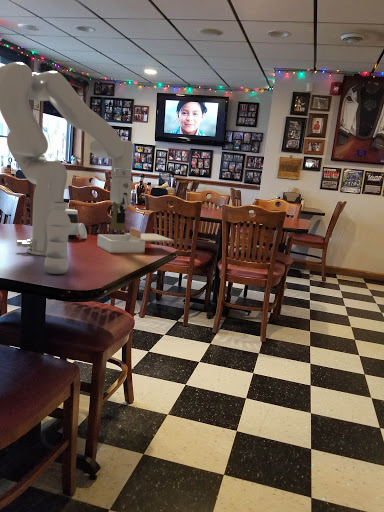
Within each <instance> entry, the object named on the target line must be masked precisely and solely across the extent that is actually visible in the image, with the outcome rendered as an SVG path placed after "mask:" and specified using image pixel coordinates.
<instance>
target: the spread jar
mask: <svg viewBox="0 0 384 512" xmlns="http://www.w3.org/2000/svg"><path fill="white" fill-rule="evenodd" d="M65 212H66V213H67V215H68V216H69V218H70V222H71V223H70V229H69V234H68V239H76V238H78V235H79V238H80V239H82V240H84V239H87V236H88V235H87V234H88V233H87V229H86V226H85V224H84V223H83V222H80V223H79V221H80V220H79V216H78V215H79V214H78V212H79V211H78V210H77V209H72V208H66V210H65Z"/></svg>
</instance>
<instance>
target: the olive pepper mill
mask: <svg viewBox="0 0 384 512" xmlns="http://www.w3.org/2000/svg"><path fill="white" fill-rule="evenodd" d="M121 204H123V203H121ZM121 207H122V206H121ZM113 208H114V210H113V216H112V215H111V221H110V226H109V227H110V228H109V229H110V230H115V231H126V229H127V227H126V226H127V225H126V222H125V223H117V222H116V221H117V213H118V204H116V203H115V202H113Z"/></svg>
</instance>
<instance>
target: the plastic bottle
mask: <svg viewBox="0 0 384 512" xmlns="http://www.w3.org/2000/svg"><path fill="white" fill-rule="evenodd" d="M52 208H53V211H52V212H51V213H50V214H49V216H48V217H47V220H46V224H47V234H48V246H47V254H46V256H45V259H44V265H43V266H44V270H45V272H46V273H48V274H52V275H62V274H66V273H67V271H68V269H69V263H70V262H69V256H68V240H69V238H68V234H69V229H70V223H71V222H70V218H69V216H68V215H67V213H66V212H65V210H66V209H67V202H65V201H63V202H58V201H53V202H52Z"/></svg>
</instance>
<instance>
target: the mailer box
mask: <svg viewBox="0 0 384 512" xmlns="http://www.w3.org/2000/svg"><path fill="white" fill-rule="evenodd" d="M96 242H97V244H96V246H97V247H99V248H100V249H102V250H103V251H106V252H107V253H109V254H137V253H138V254H139V253H141V254H144V253H145V248H146V241H139V240H137V239H134V238H132V237H130V236H127V235H125V234H97V241H96Z"/></svg>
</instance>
